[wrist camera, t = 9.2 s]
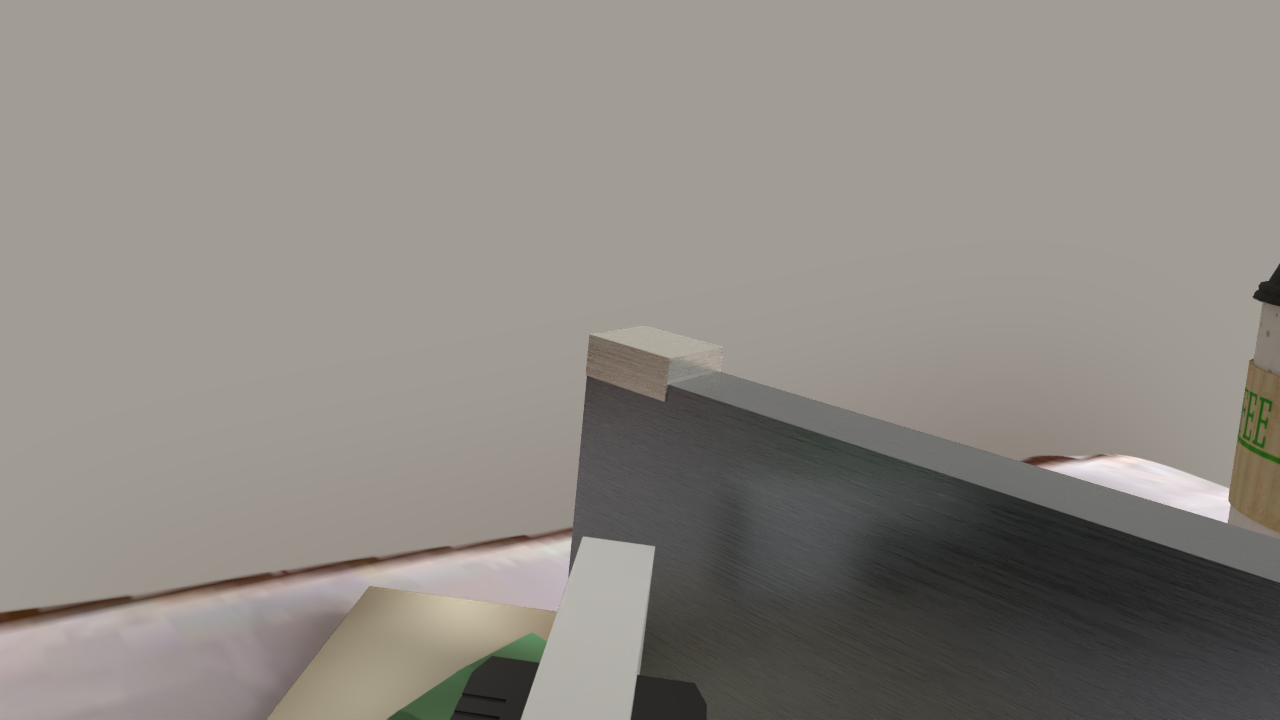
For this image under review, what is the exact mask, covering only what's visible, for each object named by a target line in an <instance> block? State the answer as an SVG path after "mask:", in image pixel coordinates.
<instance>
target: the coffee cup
mask: <svg viewBox="0 0 1280 720" xmlns="http://www.w3.org/2000/svg"><path fill="white" fill-rule="evenodd" d="M1253 298H1254V299H1256V300H1258V301H1260V302H1263V304H1262V311H1261V317H1260V323H1259V330H1258V336H1257V343H1256V349H1255V356H1254V359H1252V360H1250V361H1249V368H1248V375H1247V380H1246V387H1245V393H1244V400H1243V406H1242V413H1241V419H1240V420H1241V421H1240V427H1239V433H1238V440H1237V446H1236V452H1235V459H1234V466H1233V472H1232V479H1231V485H1230V491H1229V502H1230V504H1231V506H1230V512H1229V519H1228V524H1231V525H1234V526H1238V527H1241V528H1244V529H1248V530H1251V531H1254V532H1258V533H1261V534H1264V535H1268V536H1271V537H1274V538H1278V539H1280V264H1279V266H1278V267H1277V269H1276V270H1275V272H1274V274H1273V275H1272V276H1271V278H1270V280H1269V281H1266V282H1261V283H1260V285H1259V290H1257V291H1256V292H1255V293H1254V296H1253Z"/></svg>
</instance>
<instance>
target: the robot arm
mask: <svg viewBox="0 0 1280 720" xmlns="http://www.w3.org/2000/svg"><path fill="white" fill-rule="evenodd" d="M654 552H655V546H649V545H642V544H634V543H627V542H620V541H612V540H605V539H598V538H590V537H583V538H582V541H581V544H580V546H579V549H578V552H577V555H576V558H575V561H574V564H573V567H572V570H571V573H570V576H569V579H568V582H567V585H566V588H565V591H564V594H563V597H562V599H561V602H560V605H559V608H558V611H557V614H556V617H555V620H554V623H553V626H552V629H551V632H550V635H549V638H548V641H547V644H546V647H545V650H544V653H543V655H542V658H541V661H540V663H538V662H532V661H525V660H518V659H511V658H504V657H497V656H491V657H490V658H489V659H487V660H486V661H485V662H484V663H483V664H481V665H480V666H479V667H478V668H476V669H475V670H474V671H473V672H472V673H471V675H470V677H469V679H468V682H467V684H466V686H465V688H464V690H463V692H462V697H460V699H459V701H458V703H457V705H456V707H455V710H454V714H452V716H451V718H450V720H707V704H706V702H705V700H704V698H703V697H702V695H701V693H700V691H699V689H698V688H697V686H696V684H695V683H691V682H684V681H677V680H670V679H663V678H657V677H650V676H643V675H640V668H641V660H642V652H643V644H644V635H645V627H646V619H647V610H648V602H649V594H650V585H651V577H652V569H653V560H654Z"/></svg>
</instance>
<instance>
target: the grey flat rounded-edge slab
mask: <svg viewBox="0 0 1280 720" xmlns="http://www.w3.org/2000/svg"><path fill="white" fill-rule="evenodd" d="M723 348H724V347H721V346H718V345H714V344H711V343H707V342H703V341H700V340H696V339H693V338H689V337H685V336H682V335H678V334H674V333H671V332H667V331H664V330H660V329H656V328H652V327H649V326H640V327H633V328H626V329H620V330H613V331H607V332H601V333H594V334H590V335H589V344H588V356H587V366H586V375H587V381H586V392H585V404H584V414H583V424H582V435H581V446H580V457H579V468H578V480H577V490H576V500H575V512H574V522H573V533H572V544H571V555H570V566H569V576H570V573H571V570H572V567H573V564H574V561H575V558H576V555H577V552H578V549H579V546H580V544H581V541H582V538H583V537H590V538H598V539H605V540H612V541H620V542H627V543H634V544H642V545H649V546H655V552H654V560H653V569H652V577H651V585H650V594H649V602H648V610H647V619H646V627H645V635H644V644H643V652H642V660H641V668H640V675H643V676H650V677H657V678H663V679H670V680H677V681H684V682H691V683H695V684H696V686H697V688H698V689H699V691H700V693H701V695H702V697H703V698H704V700H705V702H706V704H707V720H1280V539H1278V538H1274V537H1271V536H1268V535H1264V534H1261V533H1258V532H1254V531H1251V530H1248V529H1244V528H1241V527H1238V526H1234V525H1231V524H1228V523H1224V522H1221V521H1218V520H1214V519H1211V518H1207V517H1204V516H1201V515H1197V514H1194V513H1191V512H1187V511H1184V510H1181V509H1177V508H1174V507H1171V506H1167V505H1164V504H1161V503H1157V502H1154V501H1151V500H1147V499H1144V498H1141V497H1137V496H1134V495H1130V494H1127V493H1124V492H1120V491H1117V490H1114V489H1110V488H1107V487H1104V486H1100V485H1097V484H1094V483H1090V482H1087V481H1084V480H1080V479H1077V478H1074V477H1070V476H1067V475H1064V474H1060V473H1057V472H1053V471H1050V470H1047V469H1043V468H1040V467H1037V466H1033V465H1030V464H1027V463H1023V462H1020V461H1017V460H1013V459H1010V458H1006V457H1003V456H1000V455H997V454H993V453H990V452H987V451H983V450H980V449H976V448H973V447H969V446H966V445H963V444H960V443H956V442H953V441H950V440H946V439H943V438H940V437H936V436H932V435H930V434H926V433H923V432H920V431H916V430H913V429H910V428H906V427H903V426H899V425H896V424H893V423H889V422H886V421H883V420H879V419H876V418H872V417H869V416H866V415H863V414H859V413H856V412H853V411H849V410H846V409H842V408H839V407H835V406H832V405H829V404H826V403H822V402H819V401H816V400H812V399H809V398H806V397H802V396H799V395H796V394H792V393H789V392H786V391H782V390H779V389H775V388H772V387H769V386H766V385H762V384H759V383H756V382H752V381H749V380H745V379H742V378H739V377H735V376H732V375H729V374H725V373H722V372H720V369H721V363H722V355H723ZM568 579H569V577H568Z"/></svg>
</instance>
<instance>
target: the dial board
mask: <svg viewBox="0 0 1280 720" xmlns="http://www.w3.org/2000/svg"><path fill="white" fill-rule="evenodd" d="M556 614H557V612H555V611H548V610H541V609H534V608H526V607H519V606H512V605H504V604H497V603H490V602H482V601H475V600H468V599H460V598H453V597H446V596H438V595H431V594H424V593H416V592H409V591H402V590H394V589H387V588H380V587H372V586H369V587H368V589H367V590H366V591H365V593H364V594H363V595H362V596H361V598H360V599H359V600H358V602H357V603H356V604H355V606H354V607H353V608H352V609H351V611H350V612H349V613H348V615H347V616H346V617H345V618H344V620H343V621H342V622H341V624H340V625H339V626H338V627H337V629H336V630H335V631H334V633H333V634H332V635H331V637H330V638H329V639H328V640H327V642H326V643H325V644H324V646H323V647H322V648H321V649H320V651H319V652H318V653H317V655H316V656H315V657H314V658H313V660H312V661H311V662H310V664H309V665H308V666H307V667H306V669H305V670H304V671H303V673H302V674H301V675H300V677H299V678H298V679H297V680H296V682H295V683H294V684H293V686H292V687H291V688H290V689H289V691H288V692H287V693H286V695H285V696H284V697H283V698H282V700H281V701H280V702H279V704H278V705H277V706H276V708H275V709H274V710H273V711H272V713H271V714H270V715H269V717H268V718H267V719H266V720H450V718H451V716H452V714H454V710H455V707H456V705H457V703H458V701H459V699H460V697H462V692H463V690H464V688H465V686H466V684H467V682H468V679H469V677H470V675H471V673H472V672H473V671H474V670H475V669H476V668H478V667H479V666H480V665H481V664H483V663H484V662H485V661H486V660H487V659H489V658H490V657H491V656H497V657H504V658H511V659H518V660H525V661H532V662H538V663H540V661H541V658H542V655H543V653H544V650H545V647H546V644H547V641H548V638H549V635H550V632H551V629H552V626H553V623H554V620H555V617H556Z"/></svg>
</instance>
